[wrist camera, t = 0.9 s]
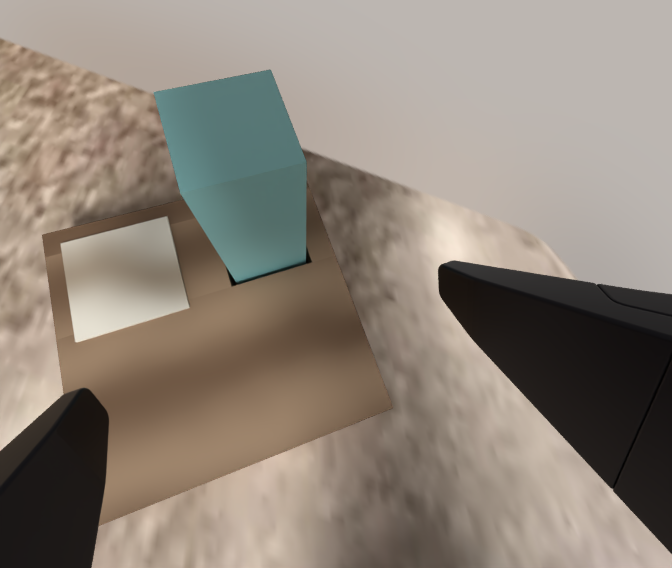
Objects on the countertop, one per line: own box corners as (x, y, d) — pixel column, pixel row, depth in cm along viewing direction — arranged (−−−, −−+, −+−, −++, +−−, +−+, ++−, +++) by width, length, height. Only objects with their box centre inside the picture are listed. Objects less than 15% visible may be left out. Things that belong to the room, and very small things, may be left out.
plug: (305, 275, 24) (306, 162, 12) (243, 294, 23) (180, 193, 11) (287, 221, 25) (270, 69, 13) (227, 237, 24) (153, 92, 13)
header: (381, 405, 22) (394, 408, 19) (116, 511, 19) (79, 534, 16) (302, 194, 26) (302, 167, 23) (74, 254, 23) (39, 233, 20)
